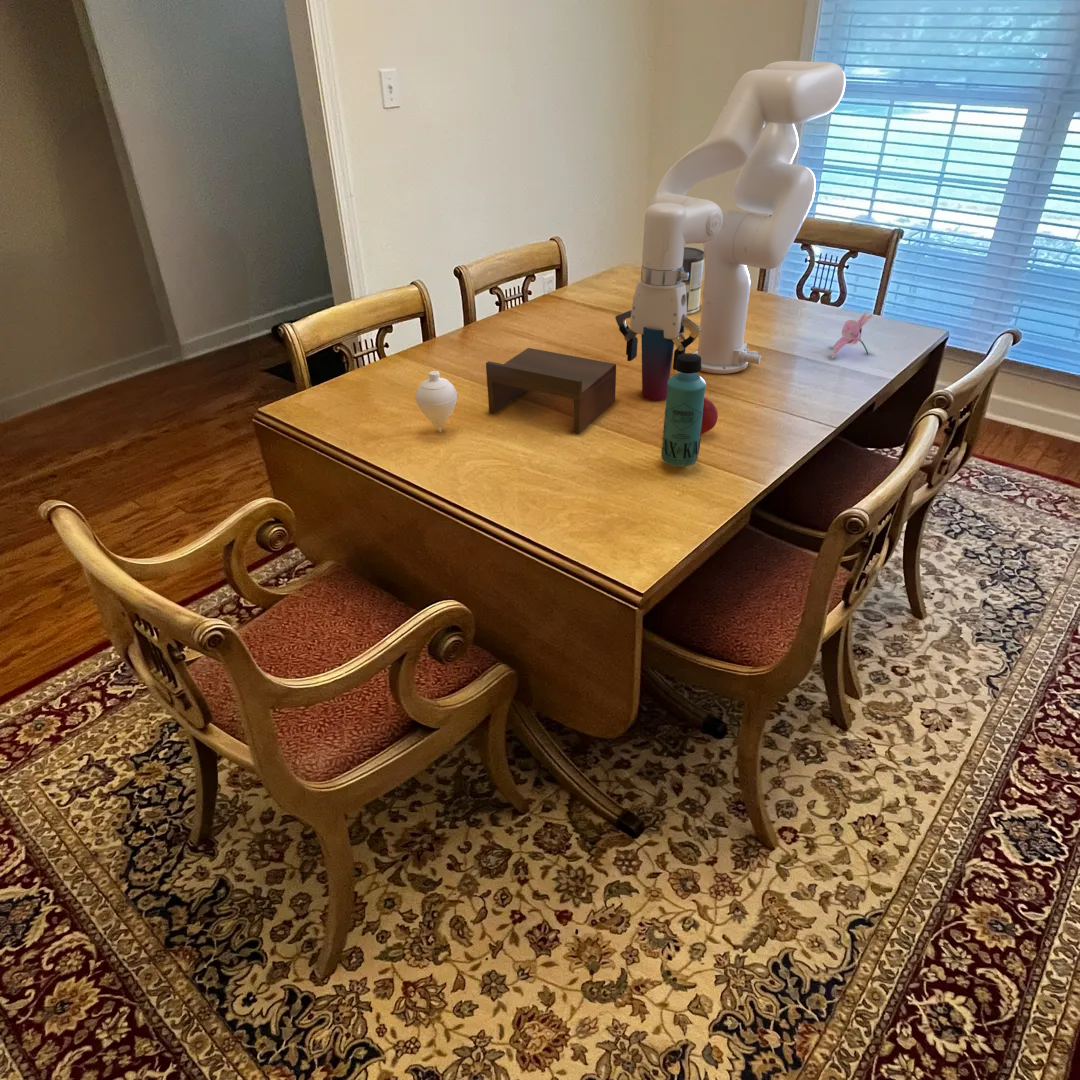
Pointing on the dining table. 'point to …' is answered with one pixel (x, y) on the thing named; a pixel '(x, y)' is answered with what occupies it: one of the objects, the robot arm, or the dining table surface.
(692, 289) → the coffee can
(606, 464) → the dining table surface
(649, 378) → the cup
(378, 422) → the dining table surface
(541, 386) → the shelf
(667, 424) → the beverage bottle
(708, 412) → the onion
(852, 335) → the lily
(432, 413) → the spinning top
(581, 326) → the dining table surface
